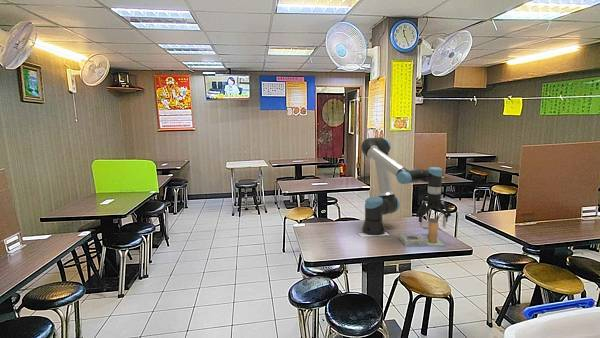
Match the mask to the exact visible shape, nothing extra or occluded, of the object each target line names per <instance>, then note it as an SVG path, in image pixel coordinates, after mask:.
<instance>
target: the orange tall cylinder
mask: <svg viewBox="0 0 600 338" xmlns="http://www.w3.org/2000/svg"><path fill="white" fill-rule="evenodd" d="M428 225H429V229H428V231H427V233H428V234H427V236H428V237H427V239H428V242H430V243H437V239H438V230H439V229H438V227H439V219H438V218H429V219H428Z"/></svg>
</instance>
